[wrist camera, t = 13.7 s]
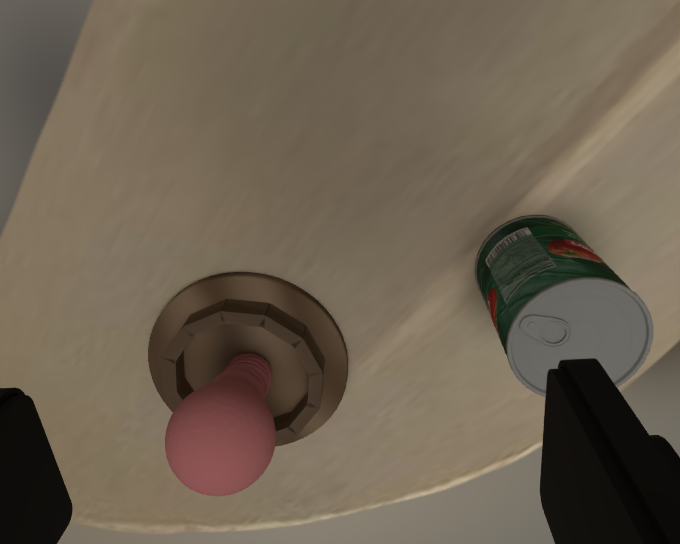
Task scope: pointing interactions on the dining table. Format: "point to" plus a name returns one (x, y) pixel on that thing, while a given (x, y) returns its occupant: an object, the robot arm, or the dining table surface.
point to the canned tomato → (559, 302)
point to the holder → (253, 346)
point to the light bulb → (224, 430)
